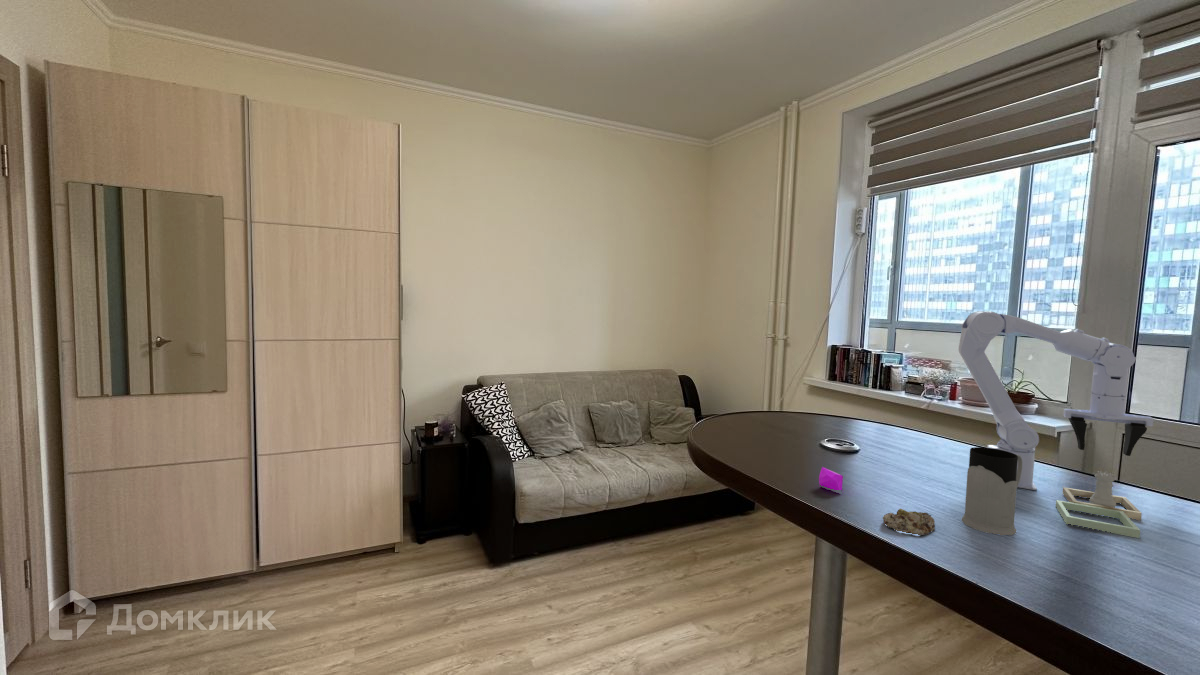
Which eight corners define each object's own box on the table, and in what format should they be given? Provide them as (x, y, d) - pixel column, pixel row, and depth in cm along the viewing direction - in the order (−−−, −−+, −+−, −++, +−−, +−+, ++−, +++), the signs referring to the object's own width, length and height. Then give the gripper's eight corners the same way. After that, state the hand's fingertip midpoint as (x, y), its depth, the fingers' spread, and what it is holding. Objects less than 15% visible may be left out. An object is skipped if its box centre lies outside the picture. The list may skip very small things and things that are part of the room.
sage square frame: (1066, 524, 101) (1066, 516, 100) (1055, 506, 109) (1056, 499, 109) (1139, 538, 95) (1140, 530, 95) (1122, 518, 103) (1122, 511, 103)
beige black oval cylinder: (951, 520, 102) (956, 448, 101) (993, 509, 107) (998, 441, 106) (1000, 538, 94) (1005, 461, 93) (1042, 526, 99) (1047, 453, 98)
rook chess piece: (1122, 513, 106) (1125, 477, 106) (1096, 511, 107) (1099, 475, 107) (1107, 505, 110) (1110, 470, 110) (1082, 503, 112) (1085, 468, 111)
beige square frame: (1072, 508, 108) (1073, 501, 108) (1062, 493, 117) (1063, 487, 117) (1141, 520, 103) (1141, 513, 102) (1124, 504, 111) (1125, 497, 111)
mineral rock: (906, 529, 93) (876, 501, 100) (899, 547, 94) (870, 519, 102) (953, 526, 95) (920, 499, 103) (945, 544, 97) (914, 516, 104)
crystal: (817, 490, 117) (818, 471, 117) (821, 484, 122) (822, 465, 121) (841, 495, 114) (842, 476, 114) (844, 488, 119) (845, 469, 119)
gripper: (1070, 393, 116) (1065, 450, 117) (1160, 401, 108) (1154, 462, 108) (1063, 389, 121) (1059, 443, 122) (1148, 396, 113) (1143, 454, 114)
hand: (1103, 451), depth 116 cm, fingers open, 7 cm apart
